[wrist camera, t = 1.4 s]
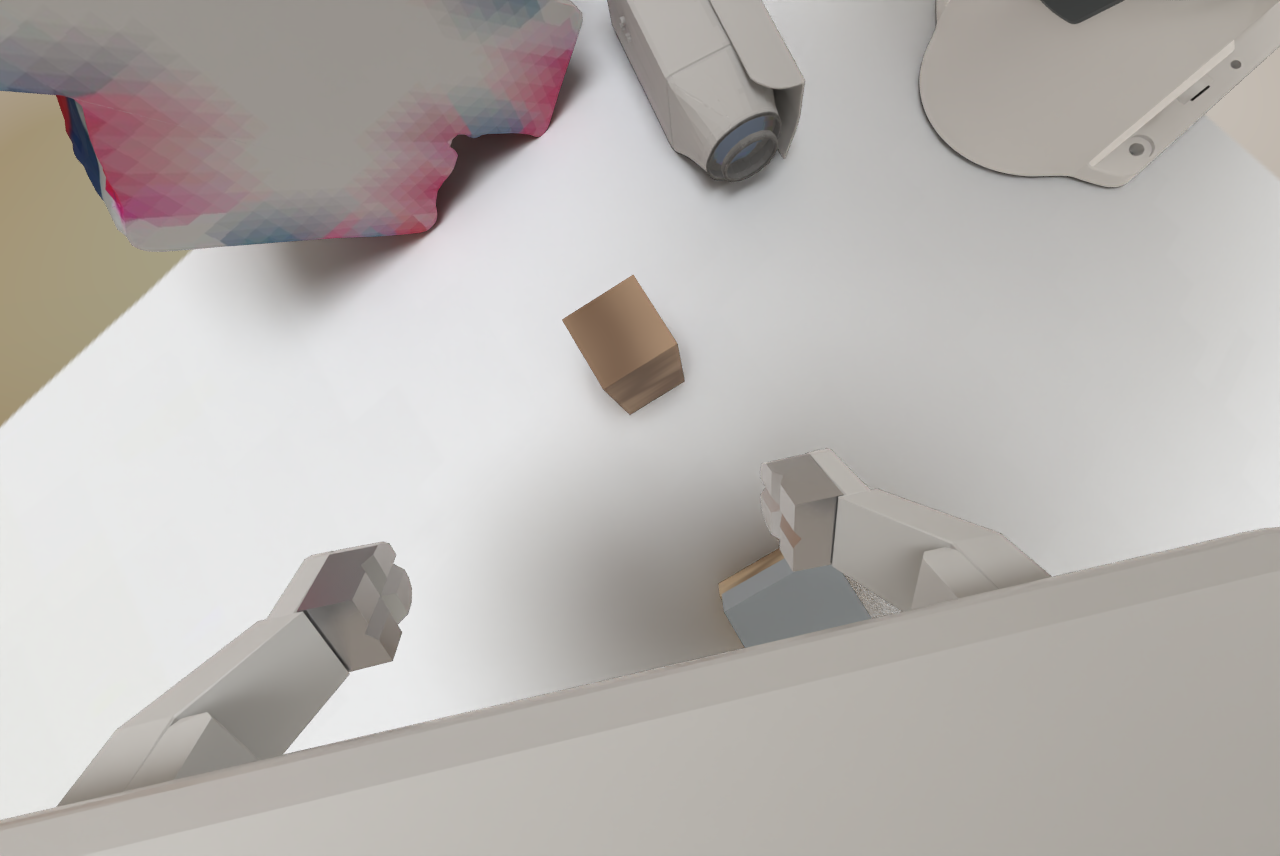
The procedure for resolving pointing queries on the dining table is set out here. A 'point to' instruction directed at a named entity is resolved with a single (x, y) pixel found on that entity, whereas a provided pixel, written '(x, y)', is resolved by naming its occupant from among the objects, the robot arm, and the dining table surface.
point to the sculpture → (283, 105)
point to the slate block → (791, 603)
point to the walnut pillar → (627, 345)
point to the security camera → (714, 79)
